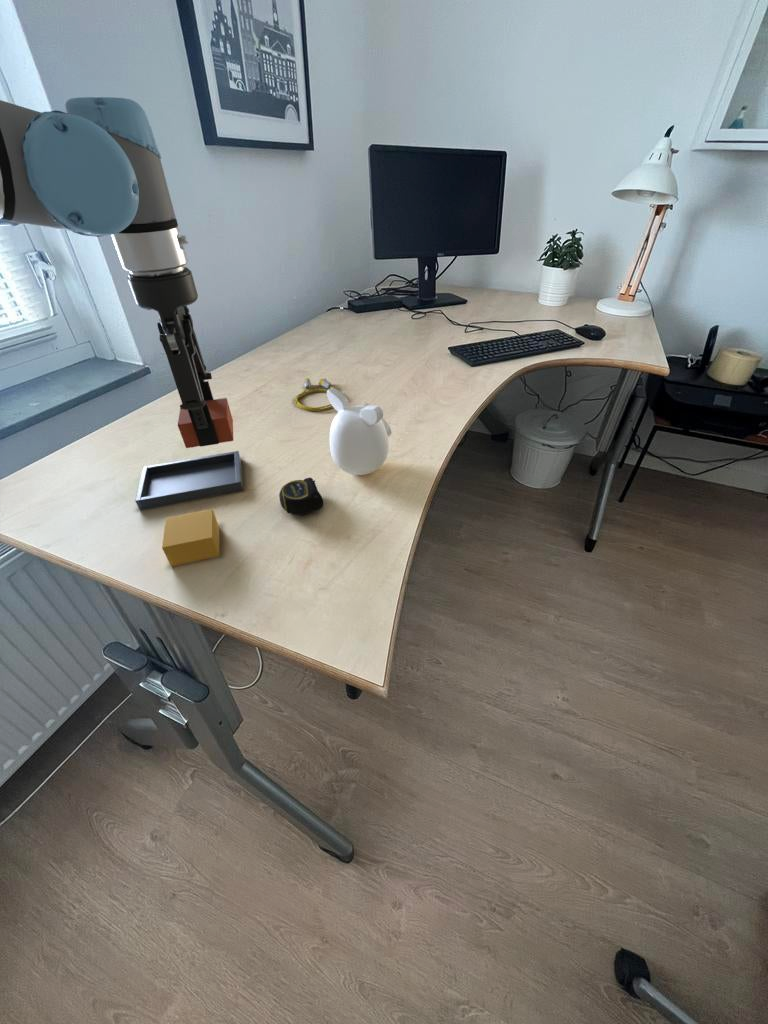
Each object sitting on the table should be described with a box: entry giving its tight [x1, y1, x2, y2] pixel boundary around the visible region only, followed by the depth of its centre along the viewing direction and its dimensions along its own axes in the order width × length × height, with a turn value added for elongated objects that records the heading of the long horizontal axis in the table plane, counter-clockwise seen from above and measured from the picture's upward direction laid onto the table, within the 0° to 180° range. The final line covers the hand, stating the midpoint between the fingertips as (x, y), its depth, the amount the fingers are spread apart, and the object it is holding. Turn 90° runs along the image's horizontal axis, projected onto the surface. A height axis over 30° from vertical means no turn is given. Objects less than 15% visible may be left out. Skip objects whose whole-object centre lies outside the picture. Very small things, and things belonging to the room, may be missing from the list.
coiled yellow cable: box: [294, 377, 334, 412], centre depth 107 cm, size 12×16×2 cm
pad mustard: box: [161, 508, 220, 567], centre depth 67 cm, size 7×7×4 cm
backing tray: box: [135, 450, 244, 511], centre depth 80 cm, size 18×11×2 cm, turn 107°
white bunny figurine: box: [326, 387, 392, 476], centre depth 79 cm, size 12×12×15 cm
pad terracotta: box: [177, 397, 234, 449], centre depth 68 cm, size 7×7×4 cm
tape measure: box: [278, 477, 324, 516], centre depth 74 cm, size 7×7×4 cm
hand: (210, 431), depth 69 cm, fingers closed on pad terracotta, 7 cm apart
